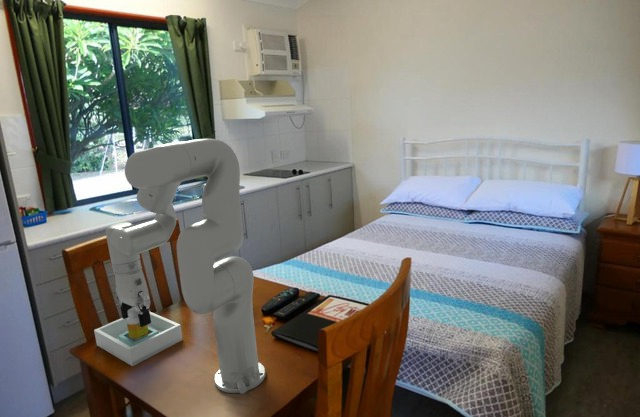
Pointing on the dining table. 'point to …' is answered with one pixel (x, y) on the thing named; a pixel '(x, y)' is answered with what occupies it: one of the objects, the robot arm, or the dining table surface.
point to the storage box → (134, 352)
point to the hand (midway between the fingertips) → (136, 320)
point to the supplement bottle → (135, 325)
